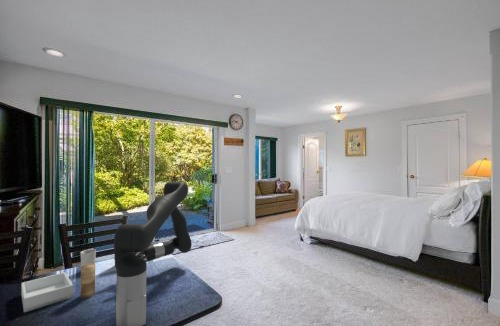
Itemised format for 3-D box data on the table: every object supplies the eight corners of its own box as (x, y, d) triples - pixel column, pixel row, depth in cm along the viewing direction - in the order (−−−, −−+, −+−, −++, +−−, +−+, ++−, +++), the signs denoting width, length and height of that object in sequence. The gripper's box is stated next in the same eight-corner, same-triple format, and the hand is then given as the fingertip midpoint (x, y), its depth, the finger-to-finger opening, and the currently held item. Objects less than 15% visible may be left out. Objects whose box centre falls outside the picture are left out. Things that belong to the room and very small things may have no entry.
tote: (72, 297, 99) (73, 284, 99) (23, 312, 88) (24, 298, 88) (65, 283, 111) (65, 272, 111) (21, 295, 100) (21, 282, 101)
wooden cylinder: (96, 294, 100) (96, 265, 101) (81, 299, 97) (82, 269, 97) (93, 290, 104) (93, 262, 104) (79, 295, 100) (79, 265, 101)
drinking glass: (98, 268, 127) (99, 249, 128) (89, 273, 121) (89, 253, 121) (87, 267, 128) (87, 248, 128) (76, 273, 121) (77, 253, 122)
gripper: (147, 241, 126) (112, 249, 114) (159, 247, 116) (123, 257, 104) (147, 255, 126) (112, 265, 114) (159, 263, 116) (123, 274, 104)
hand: (117, 261), depth 109 cm, fingers open, 8 cm apart
